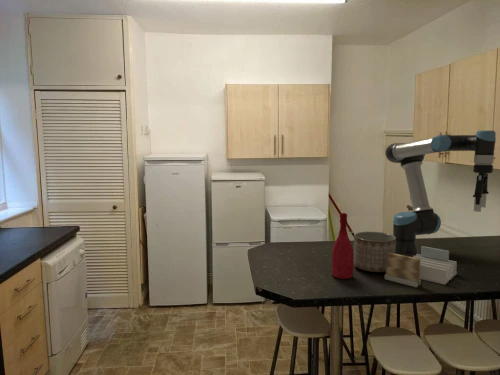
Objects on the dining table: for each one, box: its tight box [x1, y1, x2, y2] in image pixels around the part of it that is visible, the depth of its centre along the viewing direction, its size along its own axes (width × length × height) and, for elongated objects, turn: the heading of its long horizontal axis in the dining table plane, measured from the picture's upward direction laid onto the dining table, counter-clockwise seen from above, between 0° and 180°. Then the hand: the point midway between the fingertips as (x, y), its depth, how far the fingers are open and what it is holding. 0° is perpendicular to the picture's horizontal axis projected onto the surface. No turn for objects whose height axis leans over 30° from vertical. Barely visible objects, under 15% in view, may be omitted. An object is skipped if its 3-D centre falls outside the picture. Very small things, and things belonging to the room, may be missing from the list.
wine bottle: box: [331, 212, 354, 280], centre depth 164 cm, size 10×10×30 cm
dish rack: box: [413, 245, 458, 285], centre depth 166 cm, size 18×18×11 cm
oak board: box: [385, 252, 420, 287], centre depth 157 cm, size 14×2×12 cm, turn 46°
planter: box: [353, 231, 396, 273], centre depth 175 cm, size 19×19×16 cm
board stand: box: [384, 273, 421, 288], centre depth 158 cm, size 14×5×2 cm, turn 46°
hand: (479, 209), depth 166 cm, fingers open, 13 cm apart
